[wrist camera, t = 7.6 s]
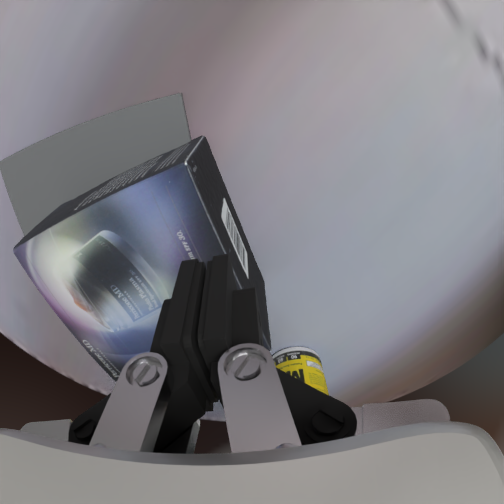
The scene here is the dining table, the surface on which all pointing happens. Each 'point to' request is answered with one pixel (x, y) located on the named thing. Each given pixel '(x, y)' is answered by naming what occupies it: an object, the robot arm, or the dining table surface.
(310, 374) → the supplement bottle
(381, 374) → the dining table surface
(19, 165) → the mat
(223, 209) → the small box
